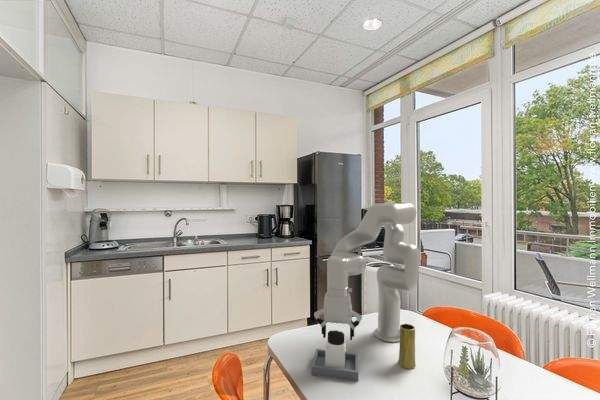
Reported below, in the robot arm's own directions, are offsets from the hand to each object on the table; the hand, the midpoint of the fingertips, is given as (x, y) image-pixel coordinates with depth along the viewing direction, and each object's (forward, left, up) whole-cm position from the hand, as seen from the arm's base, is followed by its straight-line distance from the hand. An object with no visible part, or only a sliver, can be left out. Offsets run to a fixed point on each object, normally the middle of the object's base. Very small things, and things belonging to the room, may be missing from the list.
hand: (337, 337), depth 106 cm
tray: (+1, +1, -11) cm, 11 cm away
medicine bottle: (+1, 0, -10) cm, 10 cm away
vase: (-25, -7, -11) cm, 29 cm away
